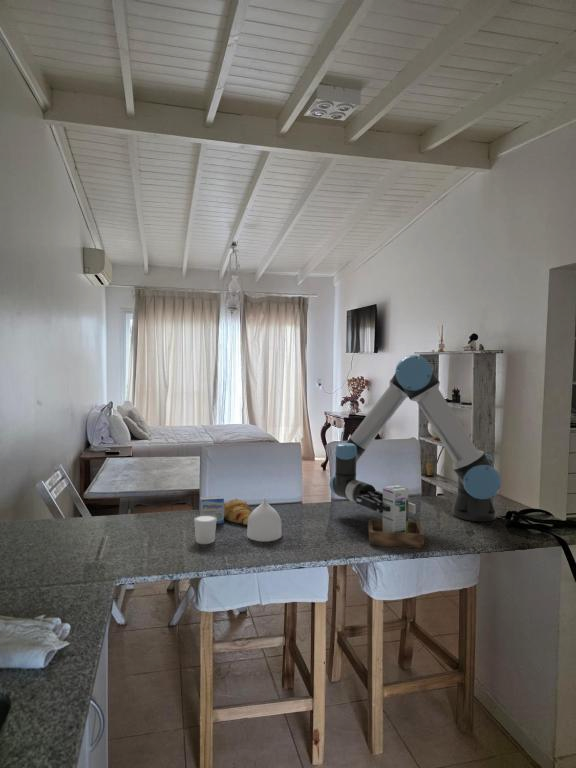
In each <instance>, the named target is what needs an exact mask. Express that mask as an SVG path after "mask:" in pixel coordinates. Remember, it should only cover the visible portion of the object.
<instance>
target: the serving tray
mask: <svg viewBox="0 0 576 768" xmlns="http://www.w3.org/2000/svg"><path fill="white" fill-rule="evenodd" d="M367 531H368V539H369V546H377V545H381V547H395V546H401V547H400V548H412V547H415V549H417V548H418V549H424V547H425V534H424V531H423V529H422V526H421V524H420V522H419V521H410V520H408V533H399V532H383V519H374V518H373V519H368V530H367Z"/></svg>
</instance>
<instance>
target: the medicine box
mask: <svg viewBox="0 0 576 768" xmlns="http://www.w3.org/2000/svg"><path fill="white" fill-rule="evenodd" d="M224 503H225V498H224V496H223V495H218V496H217V495H216V496H200V497H199V516H205V515H209V516H214V517H216V518H217V520H216V525H222V524H224V522H225V518H224Z"/></svg>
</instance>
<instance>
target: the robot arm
mask: <svg viewBox="0 0 576 768" xmlns="http://www.w3.org/2000/svg"><path fill="white" fill-rule="evenodd" d="M440 384H441V382H440V380H439V379H438V377H437V376H436V374H435V373H434V370H432V366H431V364H430V363H429V361H428V360H427V359H425V358H424V357H422V355H421V356H420V355H417V354H416V355H415V354H412V355H407V356H406V357H405V356H404V357H403V358H402V359H401V360H399V362H398V363H397V365H396V367H395V372H394V374H393V376H392V377H391V379H390V380H389V386H388V387H387V388H386V390H385V391H384V392H383V393H382V395H381V396H380V397H379V399H378V400H377V402H376V403H375V404H374V405H373V407H372V408H371V409H370V411H369V412H368V413H367V415H366V416H365V417H364V419H363V420H362V421H361V422H360V424H359V425H358V426H357V428H356V429H355V431H353V433H352V434H351V436H350V438H349V439H347V441H346V442H341V443H337V444H336V446H335V453H334V455H335V474H334V475H333V476H332V477H331V479H330V481H329V488H330V491H331V492H332V493H333V494H335V495H336V496H338V497H341V498H344V499H346V500H349V501H351V502H354V504H355V505H361V506H362V507H366V508H368V509H369V510H372V511H373V512H374V511H378V513H380V514H383V510H384V511H385V512H388V513H390V514H393V515H395V516H399V511H400V507H398V506H395V505H393V504H390V503H387V502H384V504H383V492H381V491H378V490H377V489H375V487H374V486H373V485H372V484H369V483H367V482H364V481H361V480H358V479H357V462H358V461H359V459H361V457H362V456H363V454H364V453H365V452H366V450H367V449H368V447H369V446H370V445H371V444H372V443H373V441H374V440H375V438H376V437H377V436H378V435H379V434H380V432H381V431H382V429H383V428H384V427H385V426H386V424H387V423H388V421H390V420H391V418H392V416H393V415H394V414H395V413H396V411H397V410H398V409H399V408H400V406H401V405H402V404H403V403H404V401H405V400H406V399H407V398H409V400H410V401H413V402H416V403H417V404H418V406H419V408H420V410H421V411H422V412H423V413H422V414H424V416H425V417H426V419H427V421H428V423H429V424H430V426H431V427H432V429H433V430H434V432H435V433H436V435H437V437H438V438H439V440H440V441H441V444H442V445H443V447H444V448H445V450H446V451H447V453H448V454H449V456H450V458H451V459H452V461H453V464H452V465H453V466H452V469H453V471H454V472H455V474H456V476H457V493H456V497H455V499H454V502H453V505H452V507H451V508H452V509H451V511H452V512H451V514H452V515H453V516H454V517H456V518H459V519H461V520H466V521H469V522H470V521H472V522H492V521H495V520H496V519H497V511H496V507H495V504H494V501H493V498H492V497H494V496H495V495H496V494H497V493H498V492H499V491H500V489H501V485H502V484H501V483H502V480H501V475H500V474H499V472H498V470H496V469H495V468H494V466H493V463H494V461H493V456H492V455H491V454H489V453H485V452H484V450H480V449H477V447H476V446H475V445H474V443H473V441H472V440H471V438H470V436H469V435H468V433H467V432H466V430H465V428H464V427H463V425H462V423H461V422H460V421H459V419H458V418H457V416H456V414H455V413H454V411H453V410H452V407H451V406H450V405H449V404H448V402H447V400H446V398H445V397H444V395H443V394H442V392H441V390H440ZM416 507H417V505H416V504H415V503H412V502H409V501H408V513H410V514H414V515H415V514H416V511H417V510H416Z"/></svg>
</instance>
